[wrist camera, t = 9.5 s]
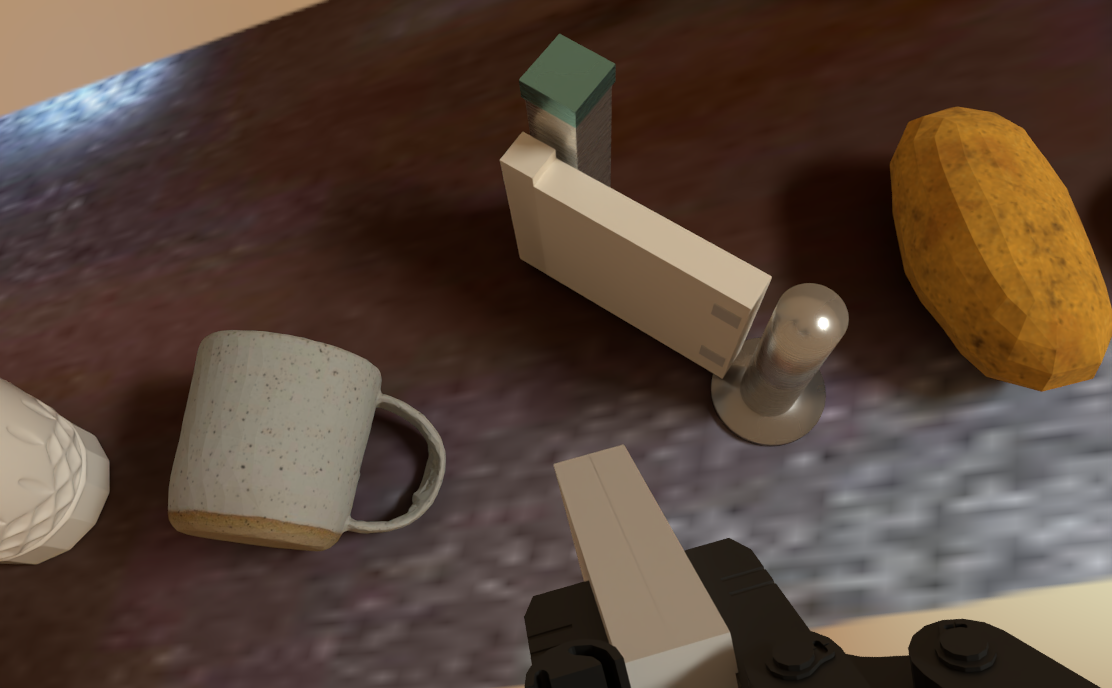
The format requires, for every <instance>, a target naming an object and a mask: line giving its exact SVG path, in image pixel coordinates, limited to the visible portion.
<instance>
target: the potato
mask: <svg viewBox="0 0 1112 688" xmlns="http://www.w3.org/2000/svg"><path fill="white" fill-rule="evenodd" d="M890 174H891V186H892V213H893V218H894V223H895V228H896V233H897V238H898V243H899V248H900V252H901V257H902V262H903V266H904V271H905V274H906V276H907V278H908V279H909V281H910V283H911V285H912V287H913V289H914V291H915V292H916V294H917V296H918V298H919V300H920V301H921V303H922V304H923V305H924V306H925V308H926V309H927V310H928V311H929V312H930V314H931V315H932V316H933V317H934V318H935V320H936V321H937V322H938V323H939V324H940V326H941V327H942V328H943V330H944V331H945V332H946V334H947V335H948V337H949V338H950V339H951V341H952V342H953V343H954V345H955V346H956V348H957V349H958V350H959V352H960V353H961V354H962V355H963V356H964V357H965V358H966V359H967V360H968V361H970V362H971V363H972V364H973V365H974V366H975V367H976V368H977V369H978V370H980V371H981V372H982V373H983V374H984V375H985V376H986V377H989V378H993V379H997V380H1000V381H1004V382H1008V383H1012V384H1015V385H1019V386H1023V387H1027V388H1030V389H1034V390H1038V391H1041V392H1042V391H1046V390H1050V389H1054V388H1058V387H1062V386H1066V385H1070V384H1074V383H1078V382H1082V381H1085V380H1089V379H1093V378H1094V376H1095V374H1096V372H1097V370H1098V368H1099V366H1100V365H1101V363H1102V360H1103V357H1104V355H1105V352H1106V350H1107V347H1108V345H1109V342H1110V340H1111V337H1112V308H1111V304H1110V300H1109V296H1108V292H1107V288H1106V286H1105V283H1104V280H1103V277H1102V274H1101V272H1100V269H1099V266H1098V263H1097V260H1096V258H1095V255H1094V252H1093V250H1092V247H1091V245H1090V242H1089V240H1088V237H1087V235H1086V232H1085V230H1084V227H1083V225H1082V222H1081V220H1080V218H1079V216H1078V213H1077V211H1076V209H1075V206H1074V204H1073V202H1072V200H1071V197H1070V195H1069V193H1068V191H1067V188H1066V187H1065V185H1064V184H1063V183H1062V181H1061V180H1060V178H1059V177H1058V175H1057V174H1056V173H1055V171H1054V170H1053V168H1052V167H1051V165H1050V164H1049V163H1048V161H1047V160H1046V158H1045V157H1044V156H1043V154H1042V153H1041V152H1040V151H1039V149H1038V148H1037V147H1036V145H1035V144H1034V143H1033V141H1032V140H1031V138H1030V137H1029V136H1028V134H1027V133H1026V132H1025V130H1024V129H1023V128H1021V127H1019V126H1017V125H1016V124H1014V123H1012V122H1010V121H1008V120H1007V119H1005V118H1003V117H1001V116H999V115H998V114H996V113H993V112H987V111H981V110H975V109H969V108H963V107H953V108H948V109H945V110H942V111H939V112H936V113H933V114H930V115H926V116H923V117H921V118H918V119H915V120H913V121H910V122H908V124H907V126H906V129H905V131H904V133H903V135H902V138H901V140H900V142H899V144H898V146H897V149H896V151H895V153H894V155H893V158H892V160H891V162H890Z"/></svg>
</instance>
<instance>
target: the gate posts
mask: <svg viewBox="0 0 1112 688" xmlns="http://www.w3.org/2000/svg"><path fill="white" fill-rule="evenodd" d="M615 65H616V64H614V63H613V62H611V61H609V60H607V59H605V58H603V57H601V56H600V55H598V54H596V53H594V52H592V51H590V50H588V49H587V48H585V47H583V46H581V45H579V44H577V43H576V42H574V41H572V40H570V39H568V38H566V37H564V36H563V35H561V34H559V35H558V36H557V37H556V38H555V40H554V41H553V42H552V43H551V44H550V45H549V46H548V48H547V49H546V50H545V51H544V52H543V53H542V54H541V55H540V57H539V58H538V59H537V60H536V61H535V62H534V63H533V65H532V66H531V67H530V68H529V69H528V70H527V71H526V73H525V74H524V75H523V76H522V77H521V78H520V79H519V84H520V91H521V97H522V98H524V99H525V100H526V107H527V115H528V122H529V129H530V136H532V137H533V138H535V139H537V140H539V141H541V142H543V143H544V144H546V145H548V146H550V147H552V148H554V149H555V152H556V158H557V159H559V160H561V161H562V162H564V163H566V164H568V165H570V166H572V167H573V168H575V169H577V170H579V171H581V172H582V173H584V174H586V175H588V176H590V177H592V178H593V179H595V180H597V181H599V182H601V183H602V184H604V185H606V186H608V187H610V167H611V88H612V85H613V84H614V82H615ZM848 321H849V317H848V311H847V308H846V305H845V303H844V302H843V300H842V299H841V298H840V297H839V295H838V294H836V293H835V292H834V291H833V290H831V289H829V288H827V287H825V286H823V285H819V284H814V283H804V284H799V285H796V286H794V287H792V288H790V289H788V290H787V291H786V292H785V293H784V294H783V295H782V296H781V298H780V299H779V301H778V303H777V306H776V308H775V310H774V312H773V314H772V316H771V318H770V320H769V322H768V324H767V327H766V329H765V331H764V333H763V335H762V337H761V338H754V339H749V340H746V341H744V343H743V346H742V348H741V350H740V352H739V354H738V355H737V357H736V359H735V360H734V362H733V363H732V365H731V366H730V368H729V369H728V371H727V373H726V374H725V376H724V377H723V379H722V378H720V377H719V376H717V375H715V374H714V373H713V376H712V381H711V398H712V402H713V406H714V408H715V411H716V413H717V415H718V416H719V418H720V419H721V421H722V422H723V423H724V425H725V426H726V427H727V428H728V429H729V430H730V431H732V432H733V433H734V434H735V435H737V436H739V437H740V438H742V439H744V440H746V441H748V442H751V443H754V444H758V445H763V446H780V445H785V444H789V443H792V442H794V441H796V440H798V439H800V438H802V437H803V436H805V435H806V434H807V433H808V432H809V431H810V430H811V429H812V428H813V427H814V426H815V424H816V423H817V422H818V420H819V418H820V417H821V414H822V412H823V409H824V405H825V398H826V393H825V385H824V381H823V377H822V375H821V373H820V371H819V368H820V367H821V366H822V364H823V363H824V361H825V360H826V359H827V357H828V356H829V355H830V353H831V352H832V350H833V349H834V348H835V346H836V345H837V343H838V342H839V341H840V339H841V338H842V337H843V335H844V333H845V332H846V329H847V327H848Z"/></svg>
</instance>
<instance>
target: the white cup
mask: <svg viewBox="0 0 1112 688" xmlns="http://www.w3.org/2000/svg"><path fill="white" fill-rule="evenodd" d="M109 492H110V462H109V459H108V458H107V456H106V454H105V452H104V450H103V449H102V447H101V445H100V443H99V441H98V440H97V438H96V436H94V435H93V434H91V433H89V432H87V431H86V430H84V429H82V428H80V427H78V426H76V425H75V424H73V423H71V422H69V421H68V420H66V419H65V418H63V417H62V416H60V415H59V414H58V413H57V412H56V411H55V410H54V409H53V408H51V407H49V406H47V405H45V404H44V403H42V402H41V401H39V400H38V399H36V398H35V397H33V396H31V395H29V394H27V393H25V392H24V391H22V390H21V389H19V388H18V387H16V386H15V385H13V384H11V383H9V382H7V381H5V380H3V379H1V378H0V564H39V563H41V562H44V561H46V560H48V559H50V558H53V557H55V556H57V555H59V554H62V553H64V552H66V551H68V550H70V549H71V548H72V547H73V546H74V545H75V544H76V543H77V542H78V541H79V540H80V539H81V538H82V537H83V536H84V535H85V534H86V533H87V532H88V531H89V530H90V529H91V528H92V527H93V526H94V525H95V524H96V522H97V520H98V518H99V515H100V513H101V511H102V509H103V506H104V504H105V502H106V499H107V497H108V495H109Z"/></svg>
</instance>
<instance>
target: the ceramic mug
mask: <svg viewBox="0 0 1112 688" xmlns="http://www.w3.org/2000/svg"><path fill="white" fill-rule="evenodd" d="M381 381H382V379H381V374H380V371H379V370H378V368H377V367H375V366H374V365H373V364H371V363H370V362H369V361H367V360H366V359H364V358H362V357H360V356H358V355H355V354H353V353H351V352H349V351H345V350H343V349H341V348H338V347H335V346H332V345H328V344H325V343H321V342H316V341H313V340H309V339H306V338H301V337H296V336H292V335H287V334H278V333H272V332H265V331H239V330H228V331H219V332H215V333H212V334H210V335H208V336H206V337H205V338H204V339H203V340H202V342H201V344H200V346H199V349H198V353H197V358H196V363H195V368H194V375H193V378H192V382H191V387H190V391H189V396H188V401H187V405H186V410H185V414H184V418H183V424H182V429H181V434H180V439H179V443H178V447H177V451H176V455H175V459H174V463H173V468H172V472H171V477H170V483H169V497H168V516H169V521H170V522H171V524H172V526H173V527H174V528H175V529H176V530H177V531H179V532H182V533H184V534H188V535H192V536H198V537H203V538H209V539H215V540H222V541H230V542H237V543H244V544H251V545H258V546H266V547H275V548H285V549H295V550H307V551H323V550H326V549H328V548H330V547H331V546H333V545H334V544H335V543H336V542H338V540H339V538H340V537H341V535H342V533H343V532H345V531H352V532H358V533H377V532H388V531H392V530H396V529H399V528H403V527H405V526H407V525H409V524H411V523H412V522H414V521H415V520H416V519H418V518H419V517H421V516H422V515H423V514H424V513H425V512H426V511H427V509H428V508H429V507H430V506H431V505H432V504H433V502H434V500H435V498H436V496H437V494H438V491H439V489H440V487H441V484H442V481H443V477H444V473H445V461H446V456H445V449H444V446H443V443H442V440H441V437H440V435H439V434H438V432H437V431H436V429H435V428H434V427H433V425H432V424H431V423H430V422H429V421H428V420H427V419H426V418H425V416H424V415H423V414H421V413H420V412H419V411H417V410H416V409H414V408H412V407H411V406H409V405H408V404H406V403H404V402H402V401H400V400H398V399H396V398H393V397H391V396H388V395H385V394H382V393H381V390H380V388H381ZM376 407H377V408H382V409H385V410H388V411H390V412H393V413H395V414H397V415H399V416H401V417H402V418H404V419H405V420H407V421H408V422H409V423H411V424H412V425H414V426H415V427H416V428H417V429H418V430H419V432H420V433H421V434H422V435H423V436H424V438H425V440H426V441H427V443H428V452H429V458H428V461H427V464H426V468H425V472H424V476H423V479H422V482H421V484H420V487H419V489H418V491H417V492H415V493H414V494H413V497H412V502H413V504H412V505H411V507H410V508H409V511H408V513H406V514H404V515H402V516H400V517H398V518H395V519H392V520H390V521H388V522H387V521H379V522H365V521H356V520H354V519H352V518H351V516H350V514H351V510H352V505H353V500H354V496H355V492H356V487H357V483H358V480H359V477H360V467H361V463H362V459H363V455H364V451H365V448H366V444H367V441H368V437H369V433H370V430H371V425H372V421H373V417H374V413H375V409H376Z"/></svg>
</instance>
